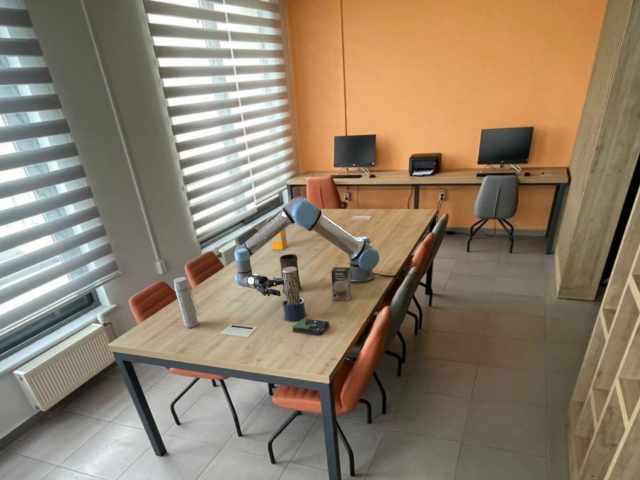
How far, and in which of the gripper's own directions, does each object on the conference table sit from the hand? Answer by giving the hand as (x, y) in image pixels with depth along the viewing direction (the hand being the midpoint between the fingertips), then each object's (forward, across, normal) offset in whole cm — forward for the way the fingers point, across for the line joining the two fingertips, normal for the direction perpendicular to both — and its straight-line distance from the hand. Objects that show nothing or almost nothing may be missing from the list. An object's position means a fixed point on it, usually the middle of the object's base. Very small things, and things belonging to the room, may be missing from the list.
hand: (289, 288), depth 224 cm
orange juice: (-88, -88, -15) cm, 126 cm away
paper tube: (+2, 0, -15) cm, 15 cm away
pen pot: (+2, 0, -15) cm, 15 cm away
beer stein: (-26, -30, -15) cm, 42 cm away
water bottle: (-42, +32, -15) cm, 55 cm away
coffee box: (+9, -30, -15) cm, 35 cm away
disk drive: (+18, +7, -15) cm, 25 cm away
